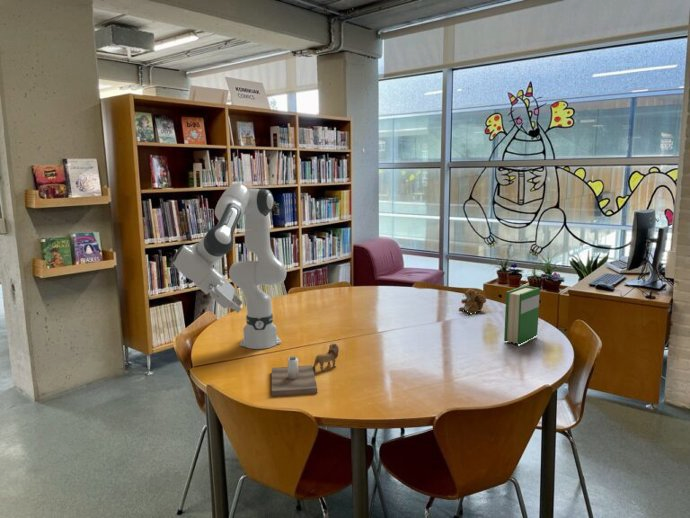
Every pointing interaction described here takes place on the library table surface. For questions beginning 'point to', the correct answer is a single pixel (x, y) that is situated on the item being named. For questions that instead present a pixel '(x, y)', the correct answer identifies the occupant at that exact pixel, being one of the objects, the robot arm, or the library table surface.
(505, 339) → the hardback book
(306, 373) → the display block
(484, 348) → the library table surface
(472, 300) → the stuffed squirrel
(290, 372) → the connector casing
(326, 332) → the library table surface
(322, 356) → the lion figurine
